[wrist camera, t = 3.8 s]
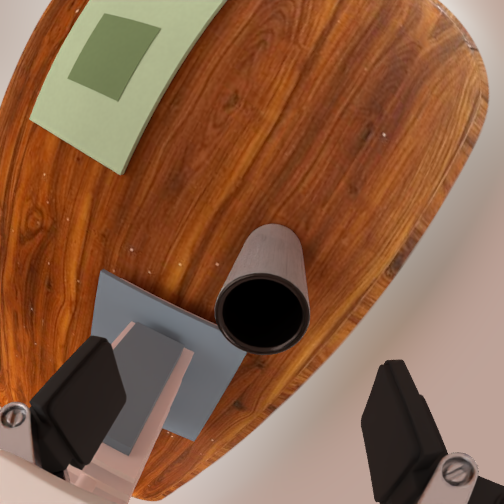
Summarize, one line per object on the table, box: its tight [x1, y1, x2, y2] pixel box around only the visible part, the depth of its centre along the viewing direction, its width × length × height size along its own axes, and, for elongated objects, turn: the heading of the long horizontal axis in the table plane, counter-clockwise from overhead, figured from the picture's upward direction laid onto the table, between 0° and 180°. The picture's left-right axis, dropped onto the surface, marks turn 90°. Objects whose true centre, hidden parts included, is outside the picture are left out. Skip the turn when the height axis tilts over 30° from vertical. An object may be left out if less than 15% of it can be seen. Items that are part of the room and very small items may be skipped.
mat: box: [30, 0, 227, 175], centre depth 19 cm, size 18×14×1 cm
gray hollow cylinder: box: [215, 224, 310, 355], centre depth 19 cm, size 4×4×10 cm
